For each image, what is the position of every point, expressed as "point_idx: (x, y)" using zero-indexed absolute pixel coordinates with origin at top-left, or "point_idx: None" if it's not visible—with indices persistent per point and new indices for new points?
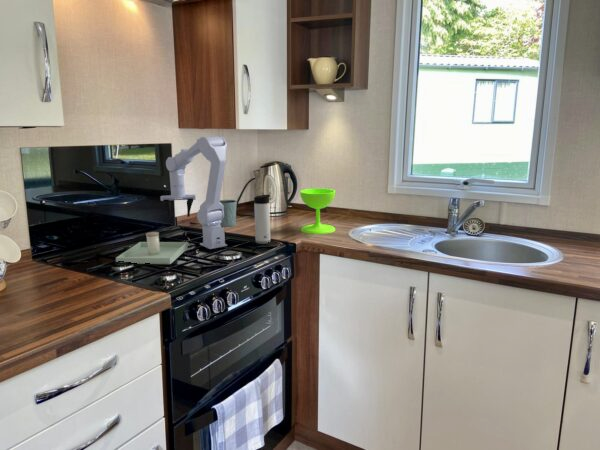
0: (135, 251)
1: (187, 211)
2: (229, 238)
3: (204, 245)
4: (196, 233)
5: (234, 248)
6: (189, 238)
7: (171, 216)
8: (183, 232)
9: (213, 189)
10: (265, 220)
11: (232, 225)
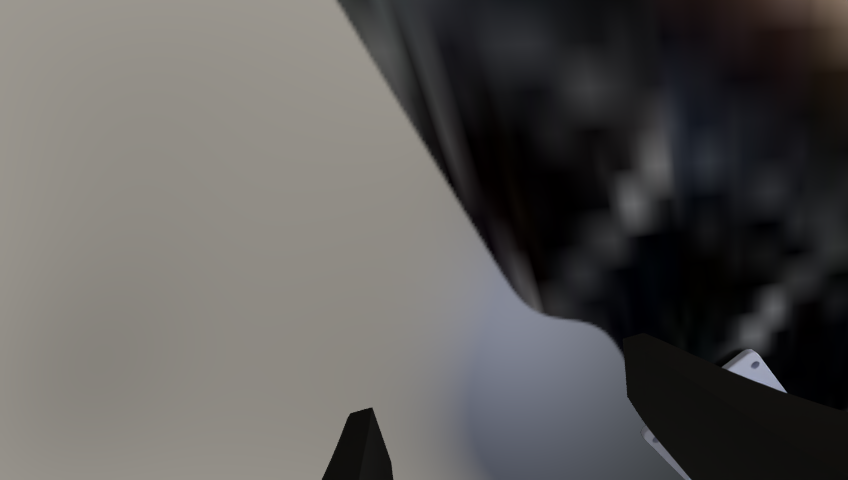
0: None
1: (691, 477)
2: (839, 248)
3: (681, 471)
4: (547, 91)
5: None
6: (526, 281)
7: (377, 423)
8: (394, 51)
9: None
10: None
11: None
